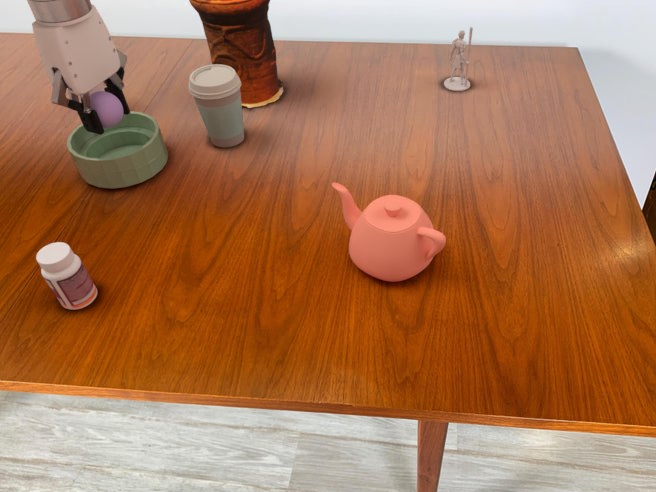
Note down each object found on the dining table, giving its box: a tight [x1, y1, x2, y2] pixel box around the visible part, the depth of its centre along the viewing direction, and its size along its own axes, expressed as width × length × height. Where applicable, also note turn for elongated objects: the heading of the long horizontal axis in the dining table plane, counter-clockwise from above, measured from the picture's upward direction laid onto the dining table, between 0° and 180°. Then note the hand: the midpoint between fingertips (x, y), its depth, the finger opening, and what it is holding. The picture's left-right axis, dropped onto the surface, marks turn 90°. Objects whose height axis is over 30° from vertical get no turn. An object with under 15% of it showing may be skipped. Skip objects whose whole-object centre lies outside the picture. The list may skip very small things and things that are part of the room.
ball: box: [90, 91, 123, 128], centre depth 91 cm, size 6×6×6 cm
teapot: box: [331, 182, 447, 283], centre depth 80 cm, size 12×18×10 cm
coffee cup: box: [188, 64, 245, 148], centre depth 99 cm, size 9×8×12 cm
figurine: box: [443, 26, 474, 92], centre depth 111 cm, size 5×5×12 cm
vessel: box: [188, 0, 284, 109], centre depth 107 cm, size 14×14×20 cm
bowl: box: [66, 110, 169, 189], centre depth 96 cm, size 14×14×6 cm
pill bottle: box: [35, 241, 98, 311], centre depth 75 cm, size 5×5×8 cm
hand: (108, 121), depth 92 cm, fingers closed on ball, 5 cm apart
